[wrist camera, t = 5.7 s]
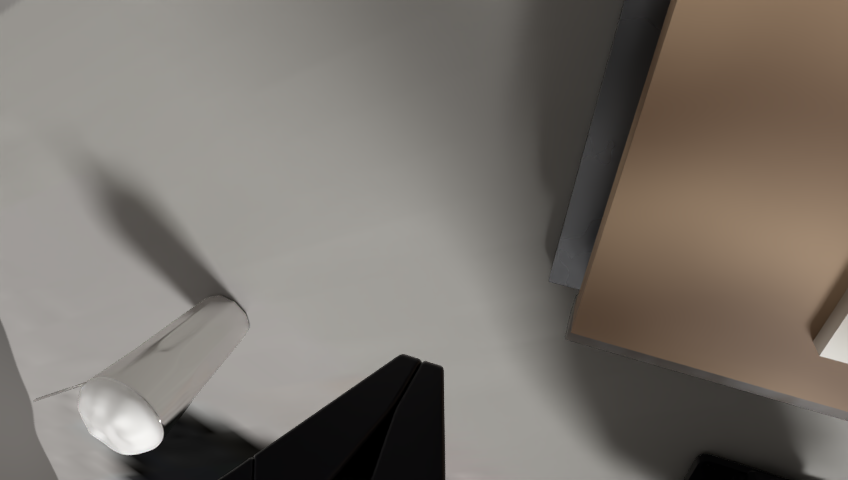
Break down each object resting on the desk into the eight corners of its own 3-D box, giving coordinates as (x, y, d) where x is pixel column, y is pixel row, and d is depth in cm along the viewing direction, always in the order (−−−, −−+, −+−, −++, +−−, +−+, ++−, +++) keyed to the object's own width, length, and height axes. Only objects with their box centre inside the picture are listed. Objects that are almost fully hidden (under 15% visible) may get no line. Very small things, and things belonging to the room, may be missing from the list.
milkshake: (211, 262, 30) (52, 385, 22) (273, 331, 31) (144, 473, 23) (173, 292, 32) (17, 412, 24) (232, 355, 33) (102, 490, 25)
